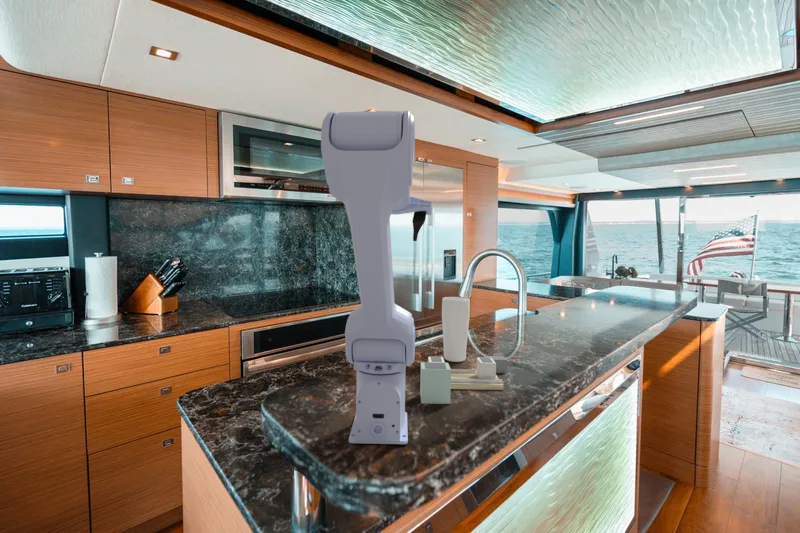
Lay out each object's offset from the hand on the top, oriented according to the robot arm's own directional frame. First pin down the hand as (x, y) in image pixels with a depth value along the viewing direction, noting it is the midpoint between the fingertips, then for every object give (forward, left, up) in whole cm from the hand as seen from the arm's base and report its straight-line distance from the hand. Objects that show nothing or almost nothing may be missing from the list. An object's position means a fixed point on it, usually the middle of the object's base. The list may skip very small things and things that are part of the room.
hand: (398, 236), depth 82 cm
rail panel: (-7, -13, -29) cm, 33 cm away
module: (-16, -7, -29) cm, 34 cm away
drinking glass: (+9, -14, -30) cm, 34 cm away
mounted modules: (-7, -13, -28) cm, 32 cm away
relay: (+1, -22, -29) cm, 37 cm away
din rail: (-7, -13, -29) cm, 33 cm away
